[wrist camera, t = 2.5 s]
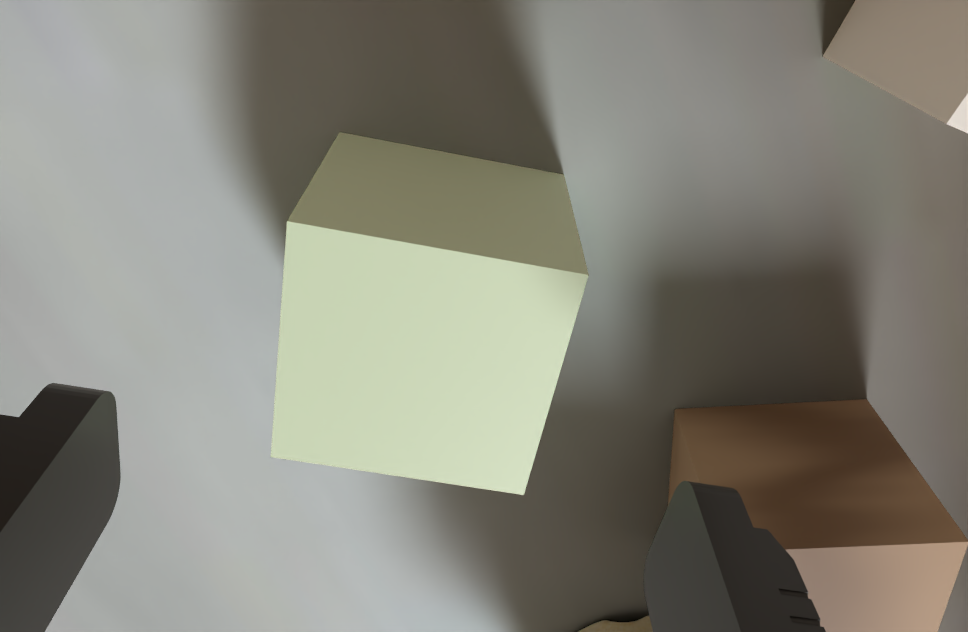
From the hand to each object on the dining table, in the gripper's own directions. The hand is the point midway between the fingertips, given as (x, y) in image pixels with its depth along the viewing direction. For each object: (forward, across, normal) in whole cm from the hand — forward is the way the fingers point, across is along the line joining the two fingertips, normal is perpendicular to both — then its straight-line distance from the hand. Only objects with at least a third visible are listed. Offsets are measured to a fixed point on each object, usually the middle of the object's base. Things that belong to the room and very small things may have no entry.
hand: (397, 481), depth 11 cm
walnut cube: (+8, -10, +5) cm, 14 cm away
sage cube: (+8, 0, 0) cm, 8 cm away
